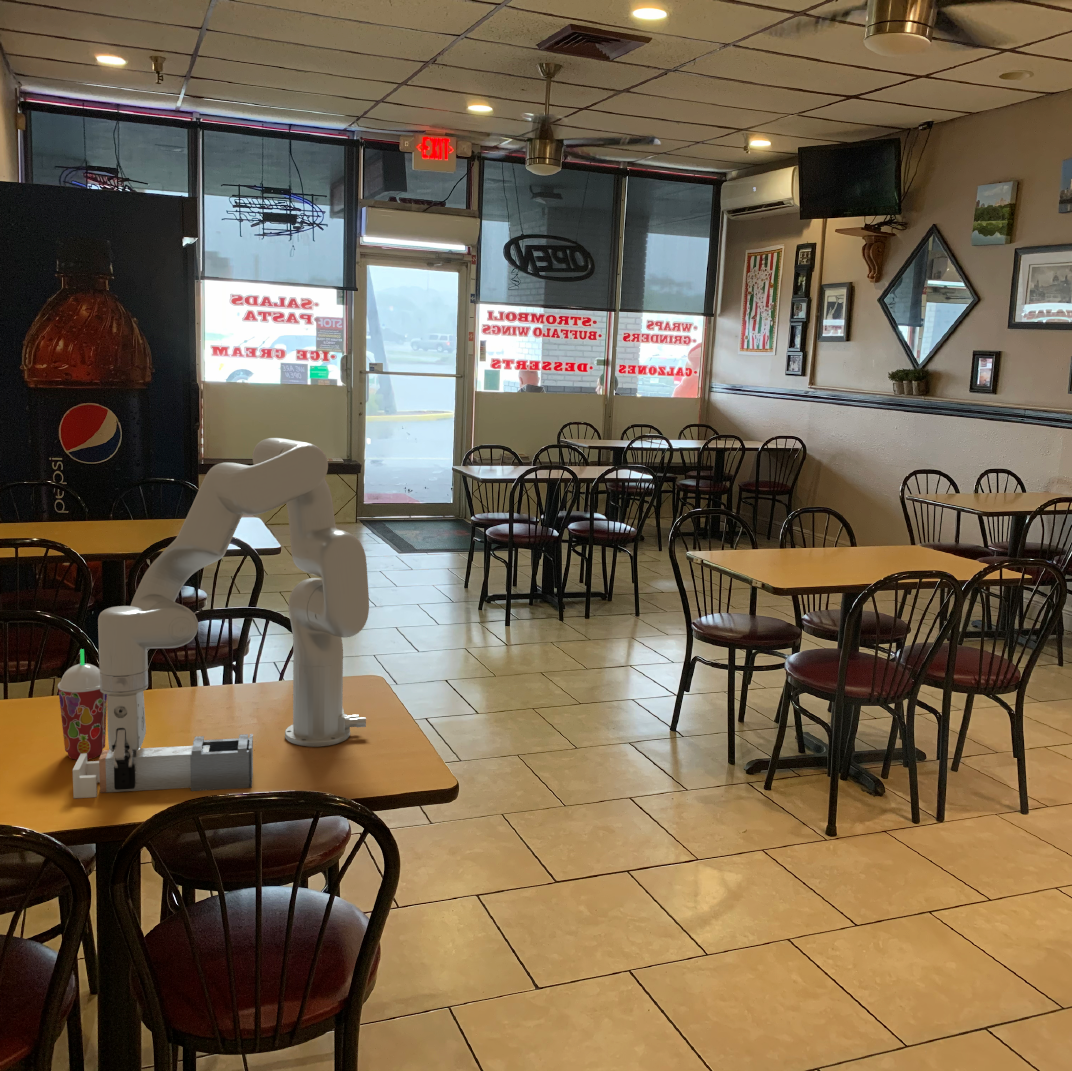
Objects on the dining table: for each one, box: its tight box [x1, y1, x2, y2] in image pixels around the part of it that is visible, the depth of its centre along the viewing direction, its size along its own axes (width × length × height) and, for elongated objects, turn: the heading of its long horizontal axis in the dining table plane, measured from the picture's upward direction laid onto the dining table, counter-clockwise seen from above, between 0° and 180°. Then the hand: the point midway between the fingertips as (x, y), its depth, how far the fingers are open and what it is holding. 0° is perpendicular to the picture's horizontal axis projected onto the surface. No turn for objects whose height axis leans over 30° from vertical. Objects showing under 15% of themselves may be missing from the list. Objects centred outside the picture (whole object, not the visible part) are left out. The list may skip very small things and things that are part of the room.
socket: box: [72, 753, 100, 799], centre depth 173 cm, size 4×7×5 cm, turn 14°
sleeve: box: [190, 733, 254, 792], centre depth 178 cm, size 10×7×7 cm
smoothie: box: [57, 648, 107, 761], centre depth 186 cm, size 8×8×20 cm
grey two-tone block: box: [98, 745, 210, 793], centre depth 176 cm, size 18×4×6 cm, turn 104°
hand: (126, 781), depth 175 cm, fingers closed on grey two-tone block, 4 cm apart
